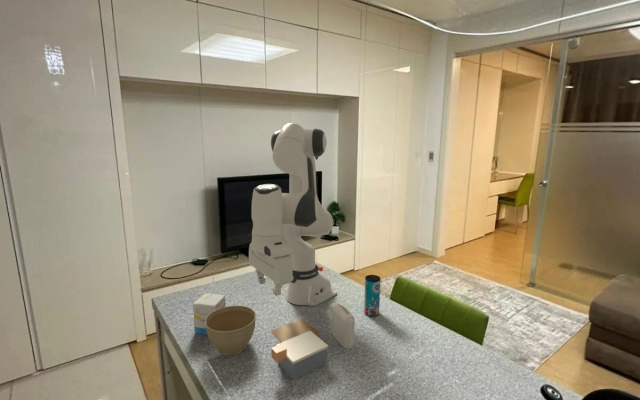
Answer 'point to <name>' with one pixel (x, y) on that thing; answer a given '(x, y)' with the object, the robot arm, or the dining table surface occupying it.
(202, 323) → the ink box
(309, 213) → the robot arm
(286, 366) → the tub
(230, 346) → the planter bowl
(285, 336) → the mat
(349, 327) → the photo printer
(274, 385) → the dining table surface
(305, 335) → the lid
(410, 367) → the dining table surface
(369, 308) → the beverage can
